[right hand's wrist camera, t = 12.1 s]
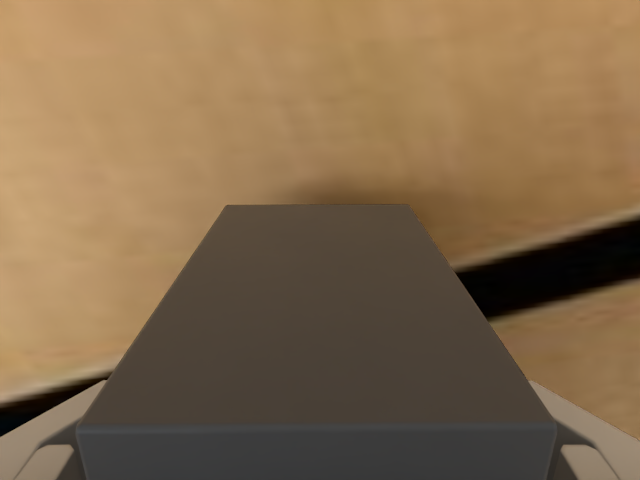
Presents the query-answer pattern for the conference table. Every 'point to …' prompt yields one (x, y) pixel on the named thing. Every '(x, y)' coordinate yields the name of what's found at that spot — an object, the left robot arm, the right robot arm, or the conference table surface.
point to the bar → (317, 363)
